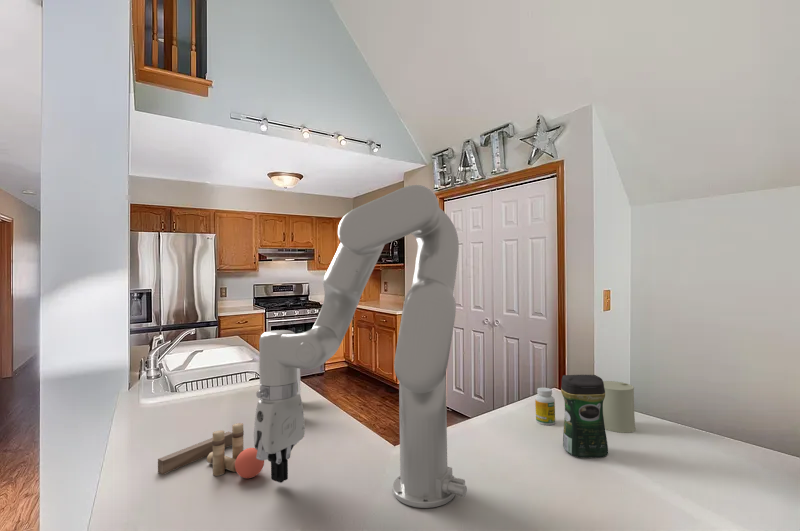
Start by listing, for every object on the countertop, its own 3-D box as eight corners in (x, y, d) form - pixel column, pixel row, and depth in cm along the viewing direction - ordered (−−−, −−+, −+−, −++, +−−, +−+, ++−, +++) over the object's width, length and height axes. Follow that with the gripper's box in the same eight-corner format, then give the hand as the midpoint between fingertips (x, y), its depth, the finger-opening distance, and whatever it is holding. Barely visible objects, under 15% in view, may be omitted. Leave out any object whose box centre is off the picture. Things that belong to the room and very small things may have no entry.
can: (643, 429, 109) (642, 385, 109) (619, 435, 106) (617, 389, 106) (614, 418, 118) (613, 378, 118) (590, 423, 114) (589, 381, 115)
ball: (248, 448, 91) (258, 474, 90) (225, 460, 86) (236, 487, 85) (262, 439, 89) (274, 464, 87) (240, 450, 84) (251, 478, 82)
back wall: (233, 444, 104) (233, 432, 104) (162, 474, 88) (162, 460, 88) (228, 443, 105) (228, 431, 105) (157, 472, 89) (157, 459, 89)
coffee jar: (597, 445, 99) (595, 371, 100) (613, 460, 92) (610, 379, 92) (558, 445, 100) (556, 371, 100) (570, 460, 92) (568, 379, 93)
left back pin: (227, 472, 89) (227, 431, 89) (217, 477, 87) (217, 435, 87) (220, 469, 90) (220, 429, 91) (210, 474, 88) (209, 433, 88)
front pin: (240, 458, 90) (215, 449, 95) (231, 463, 88) (206, 454, 93) (241, 468, 90) (216, 459, 95) (232, 474, 88) (207, 465, 93)
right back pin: (246, 462, 93) (245, 424, 94) (236, 467, 91) (236, 427, 91) (239, 460, 95) (238, 422, 95) (229, 464, 92) (229, 425, 93)
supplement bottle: (541, 417, 119) (540, 385, 120) (558, 422, 116) (557, 389, 116) (532, 422, 116) (531, 389, 116) (550, 427, 112) (549, 393, 112)
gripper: (262, 403, 75) (262, 502, 74) (316, 384, 87) (317, 468, 87) (236, 397, 78) (236, 492, 78) (292, 380, 91) (293, 461, 91)
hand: (279, 479), depth 82 cm, fingers closed
